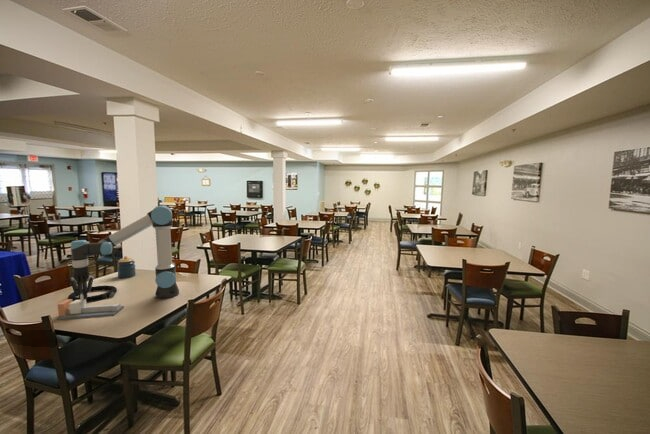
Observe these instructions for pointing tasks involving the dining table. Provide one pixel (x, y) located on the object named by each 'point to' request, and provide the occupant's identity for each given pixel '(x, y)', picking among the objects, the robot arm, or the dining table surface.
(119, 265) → the canister
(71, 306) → the block
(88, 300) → the cable lock
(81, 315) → the rail board
